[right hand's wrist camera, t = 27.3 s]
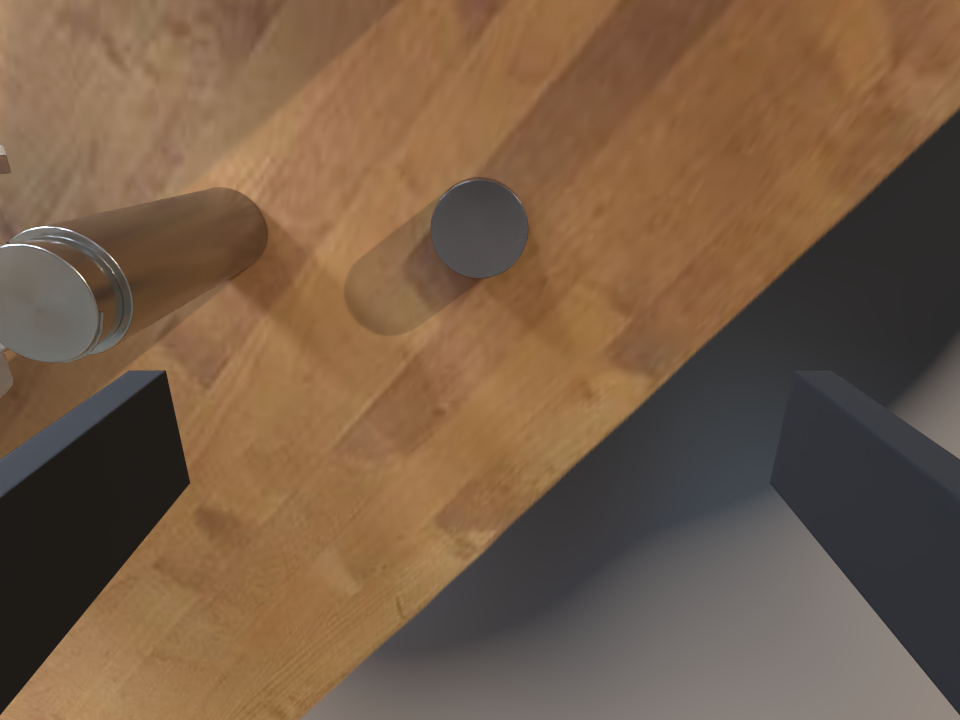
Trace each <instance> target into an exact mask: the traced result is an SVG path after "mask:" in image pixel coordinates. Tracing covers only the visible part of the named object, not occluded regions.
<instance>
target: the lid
mask: <svg viewBox="0 0 960 720" xmlns="http://www.w3.org/2000/svg"><path fill="white" fill-rule="evenodd" d="M431 237H432V242H433V245H434V248H435V250H436V252H437V254H438V255H439V257H440V258H441V260H442V261H443V262H444V263H445V264H446V265H447V266H448V267H449V268H450V269H452V270H453V271H455V272H457V273H459V274H461V275H464V276H467V277H471V278H488V277H492V276H496V275H498V274H500V273H502V272H504V271H506V270H507V269H509V268H510V267H511V266H512V265H513V264H514V263H515V262H516V261H517V260H518V258H519V257H520V256H521V254H522V252H523V250H524V248H525V245H526V242H527V238H528V220H527V216H526V212H525V210H524V208H523V206H522V204H521V202H520V200H519V199H518V197H517V196H516V195H515V193H514V192H513V191H512V190H511V189H510V188H508V187H507V186H506V185H504V184H503V183H501V182H499V181H496V180H494V179H490V178H484V177H474V178H469V179H466V180H462V181H460V182H458V183H456V184H455V185H453V186H452V187H451V188H449V189H448V190H447V191H446V192H445V193H444V195H443V196H442V197H441V199H440V200H439V202H438V204H437V206H436V208H435V210H434V213H433V216H432V221H431Z"/></svg>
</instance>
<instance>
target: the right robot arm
mask: <svg viewBox="0 0 960 720" xmlns="http://www.w3.org/2000/svg"><path fill="white" fill-rule="evenodd" d="M189 484H190V480H189V476H188V471H187V467H186V462H185V457H184V453H183V448H182V444H181V439H180V434H179V430H178V425H177V420H176V416H175V411H174V407H173V402H172V397H171V393H170V388H169V383H168V379H167V374H166V371H128V372H126V373H125V374H123V375H122V376H121V377H119V378H118V379H116V380H115V381H113V382H112V383H110V384H109V385H108V386H106V387H105V388H103V389H102V390H100V391H99V392H97V393H96V394H94V395H93V396H92V397H90V398H89V399H87V400H86V401H84V402H83V403H81V404H80V405H79V406H77V407H76V408H74V409H73V410H71V411H70V412H68V413H67V414H65V415H64V416H63V417H61V418H60V419H58V420H57V421H55V422H54V423H52V424H51V425H50V426H48V427H47V428H45V429H44V430H42V431H41V432H39V433H38V434H36V435H35V436H34V437H32V438H31V439H29V440H28V441H26V442H25V443H23V444H22V445H21V446H19V447H18V448H16V449H15V450H13V451H12V452H10V453H9V454H8V455H6V456H5V457H3V458H2V459H0V715H1V714H2V712H3V711H4V710H5V709H6V707H7V706H8V705H9V704H10V703H11V701H12V700H13V699H14V698H15V696H16V695H17V694H18V693H19V692H20V690H21V689H22V688H23V687H24V685H25V684H26V683H27V682H28V680H29V679H30V678H31V677H32V676H33V674H34V673H35V672H36V671H37V669H38V668H39V667H40V666H41V665H42V663H43V662H44V661H45V660H46V658H47V657H48V656H49V655H50V654H51V652H52V651H53V650H54V649H55V647H56V646H57V645H58V644H59V643H60V641H61V640H62V639H63V638H64V636H65V635H66V634H67V633H68V632H69V630H70V629H71V628H72V627H73V625H74V624H75V623H76V622H77V621H78V619H79V618H80V617H81V616H82V614H83V613H84V612H85V611H86V610H87V608H88V607H89V606H90V605H91V603H92V602H93V601H94V600H95V599H96V597H97V596H98V595H99V594H100V592H101V591H102V590H103V589H104V588H105V586H106V585H107V584H108V583H109V581H110V580H111V579H112V578H113V577H114V575H115V574H116V573H117V572H118V570H119V569H120V568H121V567H122V566H123V564H124V563H125V562H126V561H127V559H128V558H129V557H130V556H131V555H132V553H133V552H134V551H135V550H136V548H137V547H138V546H139V545H140V544H141V542H142V541H143V540H144V539H145V537H146V536H147V535H148V534H149V533H150V531H151V530H152V529H153V528H154V526H155V525H156V524H157V523H158V522H159V520H160V519H161V518H162V517H163V515H164V514H165V513H166V512H167V511H168V509H169V508H170V507H171V506H172V504H173V503H174V502H175V501H176V500H177V498H178V497H179V496H180V495H181V493H182V492H183V491H184V490H185V489H186V487H187V486H188V485H189ZM770 484H771V485H772V486H773V487H774V489H775V490H776V491H777V492H778V493H779V495H780V496H781V497H782V498H783V500H784V501H785V502H786V503H787V504H788V506H789V507H790V508H791V509H792V511H793V512H794V513H795V514H796V515H797V517H798V518H799V519H800V520H801V522H802V523H803V524H804V525H805V526H806V528H807V529H808V530H809V531H810V533H811V534H812V535H813V536H814V537H815V539H816V540H817V541H818V542H819V544H820V545H821V546H822V547H823V548H824V550H825V551H826V552H827V553H828V555H829V556H830V557H831V558H832V559H833V561H834V562H835V563H836V564H837V566H838V567H839V568H840V569H841V570H842V572H843V573H844V574H845V575H846V577H847V578H848V579H849V580H850V581H851V583H852V584H853V585H854V586H855V588H856V589H857V590H858V591H859V592H860V594H861V595H862V596H863V597H864V599H865V600H866V601H867V602H868V603H869V605H870V606H871V607H872V608H873V610H874V611H875V612H876V613H877V614H878V616H879V617H880V618H881V619H882V621H883V622H884V623H885V624H886V625H887V627H888V628H889V629H890V630H891V632H892V633H893V634H894V635H895V636H896V638H897V639H898V640H899V641H900V643H901V644H902V645H903V646H904V647H905V649H906V650H907V651H908V652H909V654H910V655H911V656H912V657H913V658H914V660H915V661H916V662H917V663H918V665H919V666H920V667H921V668H922V669H923V671H924V672H925V673H926V674H927V676H928V677H929V678H930V679H931V680H932V682H933V683H934V684H935V685H936V687H937V688H938V689H939V690H940V691H941V693H942V694H943V695H944V696H945V698H946V699H947V700H948V701H949V703H950V704H951V705H952V706H953V707H954V709H955V710H956V711H957V712H958V714H959V715H960V459H958V458H957V457H955V456H954V455H952V454H951V453H950V452H948V451H947V450H945V449H944V448H942V447H941V446H939V445H938V444H936V443H935V442H934V441H932V440H931V439H929V438H928V437H926V436H925V435H924V434H922V433H921V432H919V431H918V430H916V429H915V428H913V427H912V426H910V425H909V424H907V423H906V422H905V421H903V420H902V419H900V418H899V417H897V416H896V415H895V414H893V413H892V412H890V411H889V410H887V409H886V408H884V407H883V406H881V405H880V404H879V403H877V402H876V401H874V400H873V399H871V398H870V397H868V396H867V395H865V394H864V393H863V392H861V391H860V390H858V389H857V388H855V387H854V386H852V385H851V384H850V383H848V382H847V381H845V380H844V379H842V378H841V377H839V376H838V375H836V374H835V373H834V372H832V371H794V374H793V379H792V383H791V388H790V393H789V397H788V402H787V407H786V411H785V416H784V421H783V425H782V430H781V434H780V439H779V444H778V448H777V453H776V458H775V462H774V467H773V471H772V476H771V481H770Z"/></svg>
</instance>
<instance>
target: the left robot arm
mask: <svg viewBox="0 0 960 720" xmlns="http://www.w3.org/2000/svg"><path fill="white" fill-rule="evenodd" d="M4 173H11V170H10V167H9V163H8V160H7V156H6V154H5V150H4V147H3V146H1V145H0V174H4ZM7 350H9V349H8V348H7V347H5V346H4V345H3V344H1V343H0V398H1V397H2V396H3V395H4V394H5V393H6V392H7V391H8V390H9V389H10V388H11V387H12V385H13V377H12V374H11V371H10V368H9V365H8V362H7V359H6V356H5V354H4V352H5V351H7Z"/></svg>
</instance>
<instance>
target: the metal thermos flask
mask: <svg viewBox="0 0 960 720" xmlns="http://www.w3.org/2000/svg"><path fill="white" fill-rule="evenodd" d="M266 243H267V227H266V223H265V220H264V218H263V216H262V214H261V212H260V210H259V209H258V207H257V206H256V205H255V204H254V203H253V202H252V201H251V200H250V199H249V198H248V197H246V196H245V195H243V194H242V193H240V192H238V191H235V190H232V189H228V188H220V187H219V188H211V189H207V190H202V191H198V192H193V193H189V194H184V195H180V196H175V197H171V198H166V199H162V200H157V201H153V202H148V203H144V204H139V205H135V206H130V207H126V208H121V209H117V210H112V211H108V212H103V213H99V214H94V215H90V216H85V217H81V218H76V219H72V220H67V221H63V222H58V223H54V224H49V225H45V226H40V227H36V228H32V229H28V230H26V231H23V232H21V233H20V234H18V235H16V236H15V237H14V238H12V239H11V240H10V241H9V242H6V243H4V244H3V245H2V246H0V343H1V344H3V345H4V346H5V347H7V348H8V349H10V350H11V351H13V352H15V353H17V354H19V355H21V356H23V357H26V358H28V359H32V360H35V361H41V362H49V363H61V362H64V363H67V362H71V361H74V360H79V359H81V358H82V357H84V356H85V355H93V354H99V353H101V352H104V351H107V350H109V349H111V348H113V347H114V346H116V345H118V344H119V343H121V342H123V341H124V340H126V339H128V338H129V337H131V336H133V335H134V334H136V333H138V332H139V331H141V330H143V329H144V328H146V327H148V326H149V325H151V324H153V323H155V322H156V321H158V320H160V319H161V318H163V317H165V316H166V315H168V314H170V313H171V312H173V311H175V310H176V309H178V308H180V307H181V306H183V305H185V304H186V303H188V302H190V301H191V300H193V299H195V298H196V297H198V296H200V295H202V294H203V293H205V292H207V291H208V290H210V289H212V288H213V287H215V286H217V285H218V284H220V283H222V282H223V281H225V280H227V279H228V278H230V277H232V276H233V275H235V274H237V273H238V272H240V271H242V270H243V269H245V268H247V267H248V266H250V265H252V264H253V263H255V262H256V261H257V260H258V259H259V258H260V256H261V255H262V253H263V252H264V249H265V247H266Z"/></svg>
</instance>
